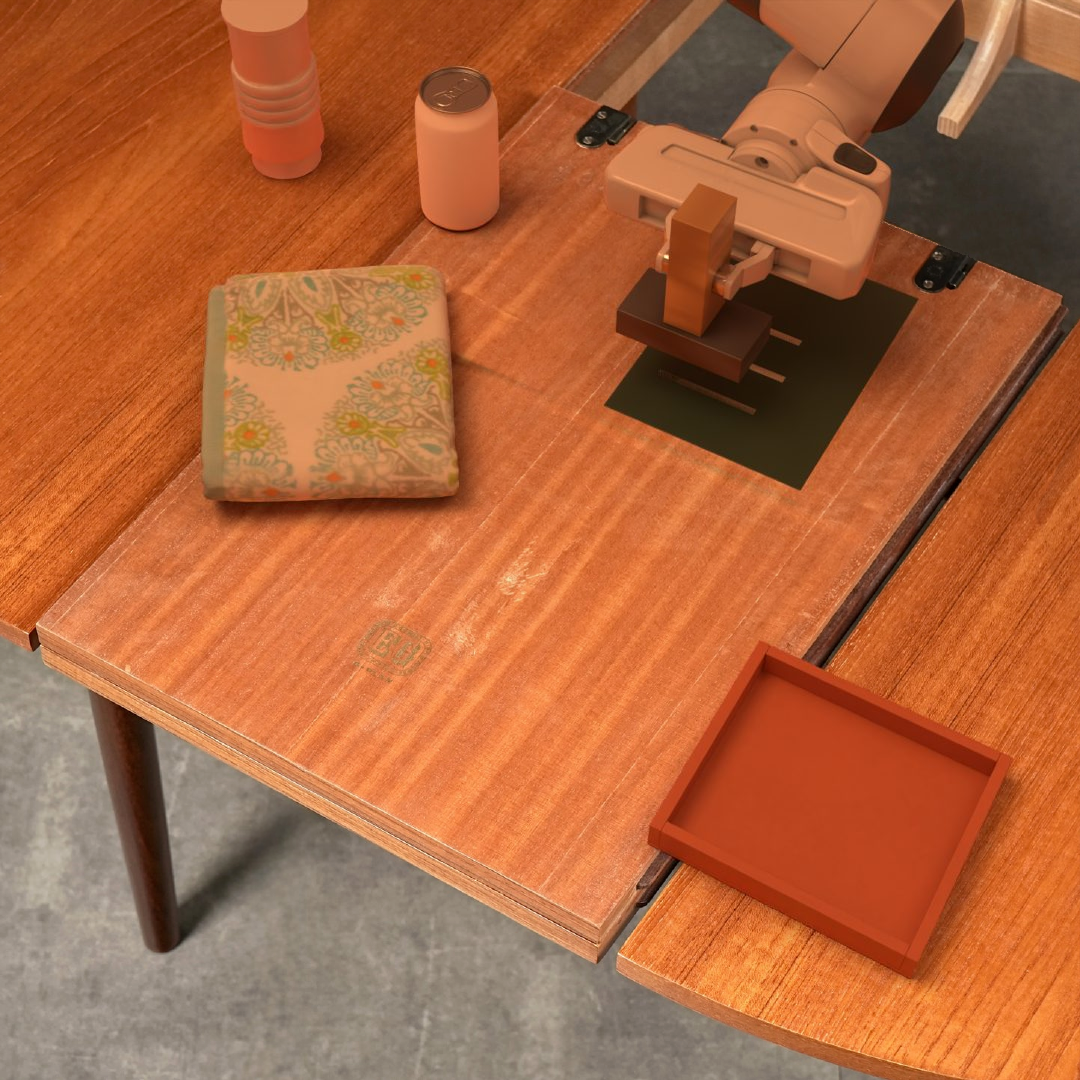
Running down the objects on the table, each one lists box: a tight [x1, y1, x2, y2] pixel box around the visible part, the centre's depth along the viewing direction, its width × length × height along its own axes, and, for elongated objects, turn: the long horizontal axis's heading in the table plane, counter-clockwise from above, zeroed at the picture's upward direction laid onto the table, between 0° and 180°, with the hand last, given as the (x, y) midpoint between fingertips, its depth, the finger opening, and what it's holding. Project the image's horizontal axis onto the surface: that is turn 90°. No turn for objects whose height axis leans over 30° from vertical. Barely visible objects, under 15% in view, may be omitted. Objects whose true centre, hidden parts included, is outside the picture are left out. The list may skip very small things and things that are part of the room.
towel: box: [200, 264, 460, 503], centre depth 125 cm, size 18×21×5 cm
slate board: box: [603, 258, 919, 491], centre depth 129 cm, size 16×22×1 cm
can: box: [414, 65, 500, 232], centre depth 135 cm, size 6×6×12 cm
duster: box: [615, 183, 772, 383], centre depth 118 cm, size 10×5×12 cm, turn 60°
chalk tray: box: [646, 639, 1014, 979], centre depth 106 cm, size 18×16×2 cm
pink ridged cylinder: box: [220, 0, 326, 180], centre depth 137 cm, size 7×7×15 cm
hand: (692, 279), depth 118 cm, fingers closed on duster, 3 cm apart
